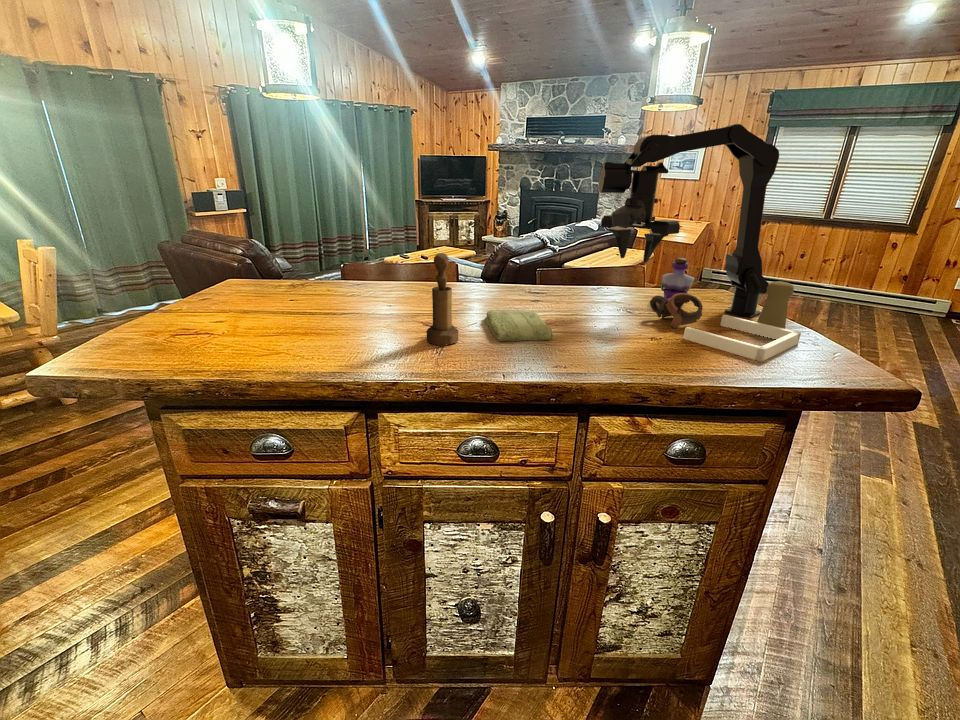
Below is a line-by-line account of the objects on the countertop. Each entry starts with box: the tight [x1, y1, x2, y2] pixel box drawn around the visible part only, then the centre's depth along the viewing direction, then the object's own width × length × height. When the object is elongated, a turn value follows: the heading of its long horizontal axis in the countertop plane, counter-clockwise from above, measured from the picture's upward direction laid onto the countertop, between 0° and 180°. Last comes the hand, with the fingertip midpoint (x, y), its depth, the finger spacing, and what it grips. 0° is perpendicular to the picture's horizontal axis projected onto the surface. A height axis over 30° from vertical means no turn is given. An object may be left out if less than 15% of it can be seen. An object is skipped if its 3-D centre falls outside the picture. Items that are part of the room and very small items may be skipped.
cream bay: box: [683, 314, 802, 363], centre depth 100 cm, size 17×16×2 cm
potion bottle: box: [660, 257, 695, 299], centre depth 129 cm, size 9×9×12 cm
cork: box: [756, 280, 795, 329], centre depth 107 cm, size 6×6×11 cm
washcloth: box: [484, 309, 554, 342], centre depth 106 cm, size 13×18×3 cm
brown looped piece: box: [649, 293, 704, 329], centre depth 112 cm, size 12×10×8 cm
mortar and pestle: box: [426, 252, 459, 346], centre depth 95 cm, size 7×6×18 cm
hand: (633, 260), depth 117 cm, fingers open, 6 cm apart
